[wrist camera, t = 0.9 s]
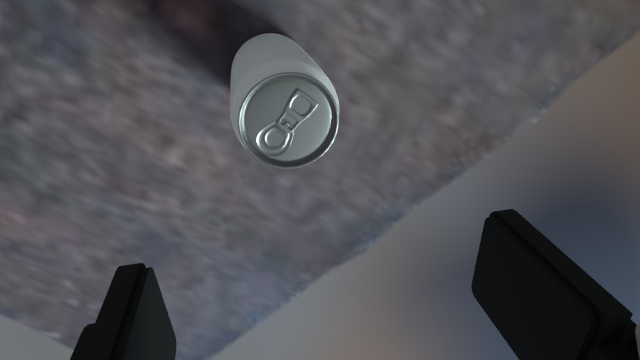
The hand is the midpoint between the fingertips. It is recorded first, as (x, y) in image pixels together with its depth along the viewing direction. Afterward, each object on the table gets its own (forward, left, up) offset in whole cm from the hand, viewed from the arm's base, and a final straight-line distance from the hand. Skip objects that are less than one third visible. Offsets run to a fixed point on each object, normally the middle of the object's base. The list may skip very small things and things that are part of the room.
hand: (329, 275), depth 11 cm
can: (0, 0, -24) cm, 24 cm away
